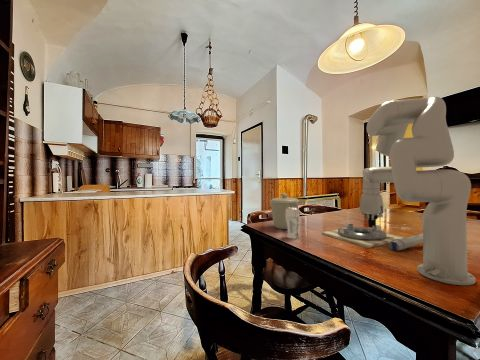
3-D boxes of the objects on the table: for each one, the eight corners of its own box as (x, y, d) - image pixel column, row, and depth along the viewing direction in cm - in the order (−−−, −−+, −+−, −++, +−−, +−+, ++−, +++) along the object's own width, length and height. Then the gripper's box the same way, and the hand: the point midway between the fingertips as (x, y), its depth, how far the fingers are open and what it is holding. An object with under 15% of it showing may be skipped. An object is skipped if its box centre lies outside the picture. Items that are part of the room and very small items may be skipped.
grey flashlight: (386, 239, 89) (429, 226, 96) (388, 255, 89) (431, 240, 96) (399, 243, 84) (443, 228, 91) (401, 259, 84) (445, 244, 91)
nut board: (367, 248, 90) (367, 245, 90) (321, 234, 114) (321, 231, 114) (405, 239, 100) (405, 237, 100) (356, 228, 124) (356, 226, 124)
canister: (268, 224, 141) (267, 192, 141) (296, 224, 140) (295, 191, 140) (271, 231, 123) (270, 194, 123) (303, 230, 122) (302, 193, 122)
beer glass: (283, 236, 112) (282, 207, 112) (294, 235, 114) (293, 206, 114) (291, 240, 105) (290, 209, 105) (302, 238, 108) (302, 208, 107)
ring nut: (356, 241, 95) (356, 233, 95) (329, 230, 116) (329, 223, 116) (397, 238, 99) (397, 230, 98) (364, 227, 119) (364, 221, 119)
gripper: (353, 191, 117) (354, 225, 117) (381, 193, 103) (381, 231, 103) (363, 190, 120) (363, 223, 120) (391, 192, 106) (391, 229, 106)
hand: (372, 227), depth 112 cm, fingers closed
